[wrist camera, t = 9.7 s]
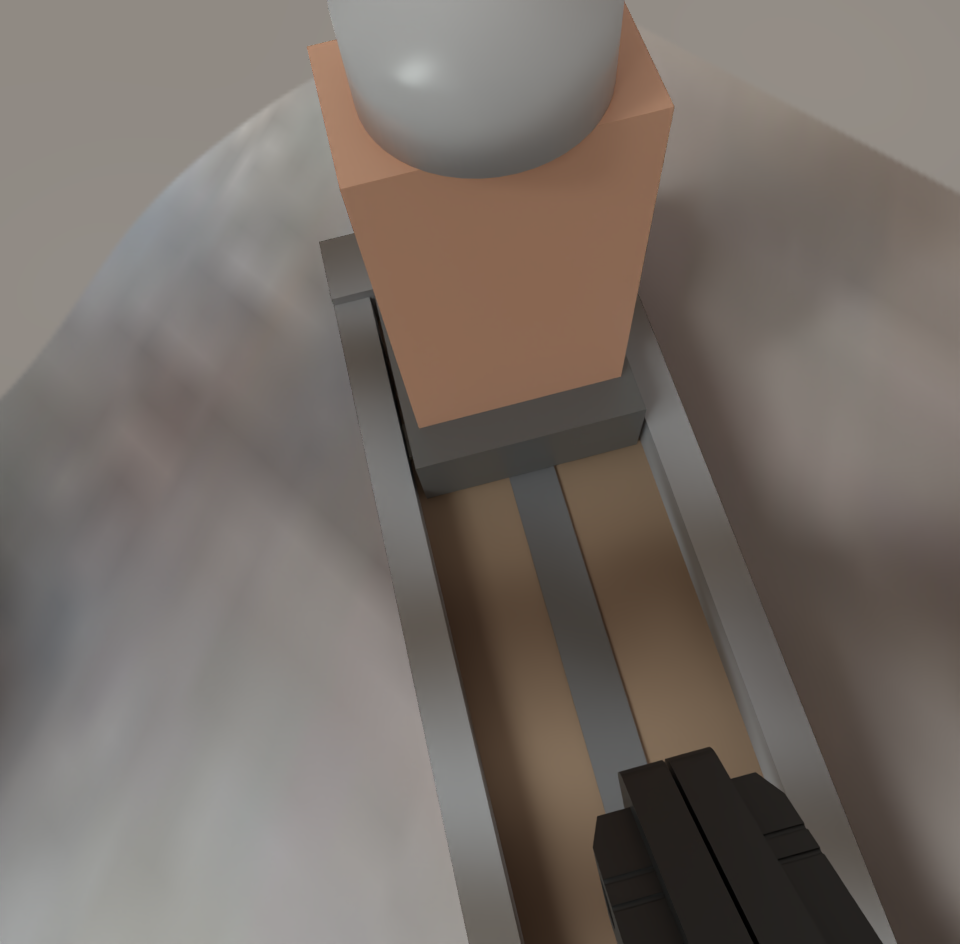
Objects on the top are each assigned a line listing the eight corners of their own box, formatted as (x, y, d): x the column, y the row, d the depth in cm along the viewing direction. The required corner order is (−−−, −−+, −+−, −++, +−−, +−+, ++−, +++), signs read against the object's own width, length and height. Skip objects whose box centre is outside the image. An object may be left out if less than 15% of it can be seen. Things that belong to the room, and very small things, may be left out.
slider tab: (636, 444, 20) (747, 52, 10) (427, 498, 20) (298, 163, 9) (580, 289, 22) (618, -182, 11) (388, 337, 22) (244, -94, 11)
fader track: (929, 1160, 16) (1026, 1251, 13) (556, 1268, 16) (561, 1389, 13) (587, 252, 25) (593, 173, 22) (347, 312, 25) (319, 242, 22)
